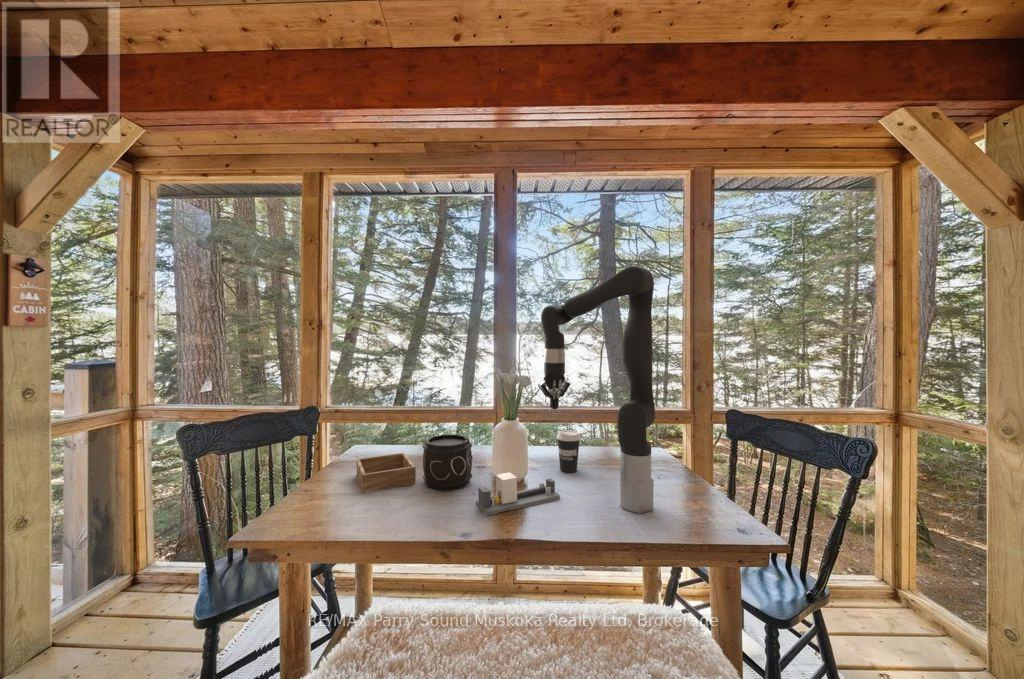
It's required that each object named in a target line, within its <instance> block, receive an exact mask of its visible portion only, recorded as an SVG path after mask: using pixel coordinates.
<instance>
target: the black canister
mask: <svg viewBox="0 0 1024 679" xmlns="http://www.w3.org/2000/svg"><path fill="white" fill-rule="evenodd" d="M472 447H473V443H471V441H470V439H469V438H468V437H467V436H466V435H462V434H453V433H452V434H447V433H446V434H438V435H434V436H431V437H429V438H427V439H425V441H424V443H423V444H422V448H423V454H422V467H423V468H422V469H423V475H422V479H423V481H424V483H425V485H426V487H427V489H431V490H433V491H437V492H446V491H456V490H459V489H463V488H465V487H466V486H467V485H468V484H469V483H470V480H471V479H472V478H473V474H472V468H473V466H472V465H473V455H472Z"/></svg>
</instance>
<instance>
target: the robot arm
mask: <svg viewBox="0 0 1024 679" xmlns="http://www.w3.org/2000/svg"><path fill="white" fill-rule="evenodd" d="M654 284H655V281H654V276H653V274H652V272H651V271H650V270H649V269H647V268H645V267H641V266H638V265H628V266H627V267H624V268H623V269H621V270H619V271H617V273H615V274H613V276H611V277H609V278H607V279H606V280H604V281H602V282H601V283H599V284H598V285H596V286H594V287H592V288H590V289H588V290H586V291H583V292H581V293H578V294H577V295H574V296H572V297H570V298H568V299H566V300H565V301H564V304H561V305H546V306H545V307H544V308H543V309H542V311H541V314H540V321H541V326H542V327H541V328H542V331H543V334H544V352H543V353H544V354H543V373H544V374H543V375H544V377H543V381H542V382H541V383H538V385H537V386H538V388H539V389H540V391H541V392H542V394H543V395H544V396H545V397H546V398H548V399H549V407H550V408H551V410H558V408H559V405H560V402H559V401H560V398H563V397H564V396H565V395H566V392H567V391H568V389H569V388H570V386H571V382H568V381H567V380H566V377H565V373H566V352H565V335H564V333H562V332H561V331H560V327H559V326H562V325H564V324H567V323H569V322H571V321H572V320H574V319H576V318H578V317H580V316H581V317H582V316H583V315H586V314H588V313H590V312H592V311H594V310H596V309H597V308H599V307H600V306H601V305H603V304H605V303H606V302H608V301H611V300H614V299H617V298H620V297H626V296H627V298H628V315H627V319H626V323H625V325H624V329H623V331H622V332H623V333H622V337H621V359H622V362H623V366H624V369H625V372H626V375H627V378H628V381H629V400H628V401H629V402H626V403H624V404H622V405H621V406H620V407H619V410H618V412H617V440H618V443H619V446H620V468H619V469H620V471H619V472H620V473H619V474H620V477H619V478H620V479H619V482H620V483H619V484H620V486H619V488H620V489H619V494H620V495H619V496H620V497H619V498H620V499H619V501H620V502H619V505H620V506H621V508H622V509H624V510H627V511H629V512H632V513H633V512H634V513H636V514H643V513H646V512H647V513H648V512H650V511H653V510H654V489H655V488H654V479H653V478H652V445H651V443H650V442H649V441H648V440H647V429H648V428H649V427H652V426H651V425H653V424H654V421H655V418H656V409H655V399H654V391H653V354H654V353H653V351H654V350H653V349H654V348H653V320H652V319H653V317H652V316H653V315H652V307H653V306H652V305H653V299H654V298H653V297H654V287H655V285H654Z"/></svg>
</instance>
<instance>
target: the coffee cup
mask: <svg viewBox="0 0 1024 679" xmlns="http://www.w3.org/2000/svg"><path fill="white" fill-rule="evenodd" d="M556 439H557V445H558V448H557V449H558V459H559V471H560V472H561V473H565V474H575V473H576V472H577V471H578V459H579V450H580V448H579V447H580V440H581V439H582V438H581V435H580V433H579V432H578V431H577V430H569V429H568V430H567V429H565V430H560V431H558V433H557V435H556Z"/></svg>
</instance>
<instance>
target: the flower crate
mask: <svg viewBox="0 0 1024 679" xmlns="http://www.w3.org/2000/svg"><path fill="white" fill-rule="evenodd" d="M416 473H417V472H416V466H415V464H414V463H413V461H412V460H411V459H410V458H409V457H408V455H407V454H406V453H405V452H397V453H391V454H390V453H389V454H385V455H383V454H382V455H377V456H369V457H363V458H357V459H356V477H357V479H358V483H359V486H360V485H361V486H360V488H362V489H361V492H362V491H363V492H364V493H366V492H365V491H369V492H371V491H370V490H375V491H377V490H376V489H381V490H384V489H383V488H386V489H390V487H392V488H396V486H398V487H402V485H403V486H409V485H414V484H416V482H417V481H416V476H417V474H416ZM363 492H362V493H363Z"/></svg>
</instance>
